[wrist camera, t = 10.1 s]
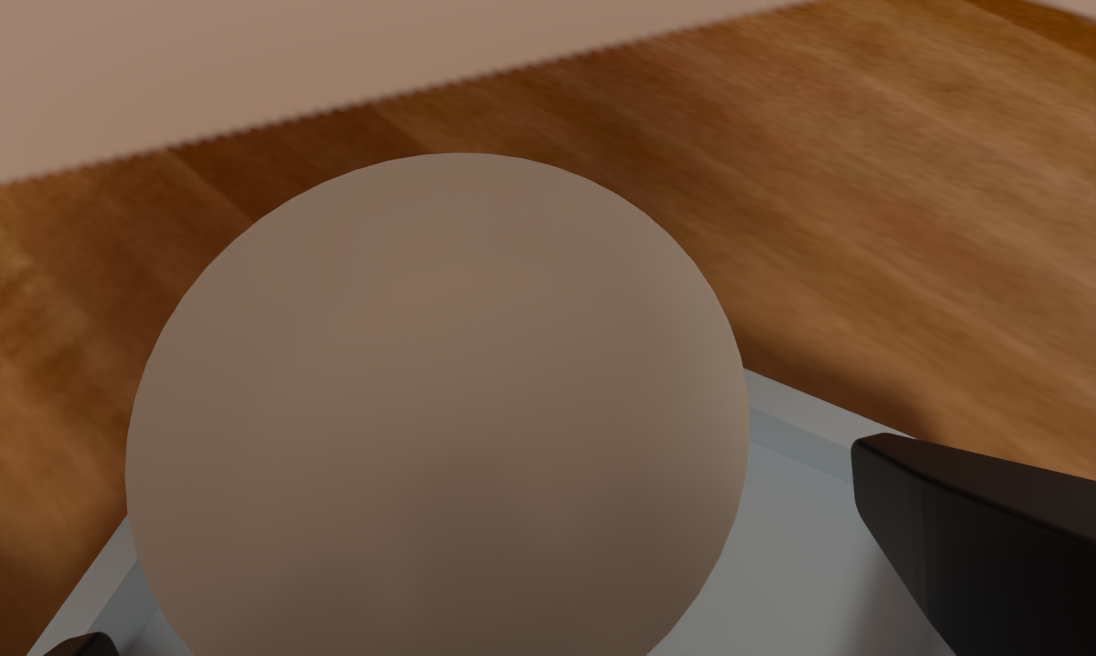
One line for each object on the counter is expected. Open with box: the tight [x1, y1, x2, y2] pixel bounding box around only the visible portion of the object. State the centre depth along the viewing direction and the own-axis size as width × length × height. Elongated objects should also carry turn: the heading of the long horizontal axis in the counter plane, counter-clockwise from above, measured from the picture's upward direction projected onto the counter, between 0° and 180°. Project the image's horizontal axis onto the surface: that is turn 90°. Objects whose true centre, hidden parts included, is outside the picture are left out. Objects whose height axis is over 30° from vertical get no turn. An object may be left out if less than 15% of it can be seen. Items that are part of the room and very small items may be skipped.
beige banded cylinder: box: [125, 153, 750, 656], centre depth 11 cm, size 4×4×13 cm
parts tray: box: [26, 368, 956, 656], centre depth 16 cm, size 17×13×2 cm
